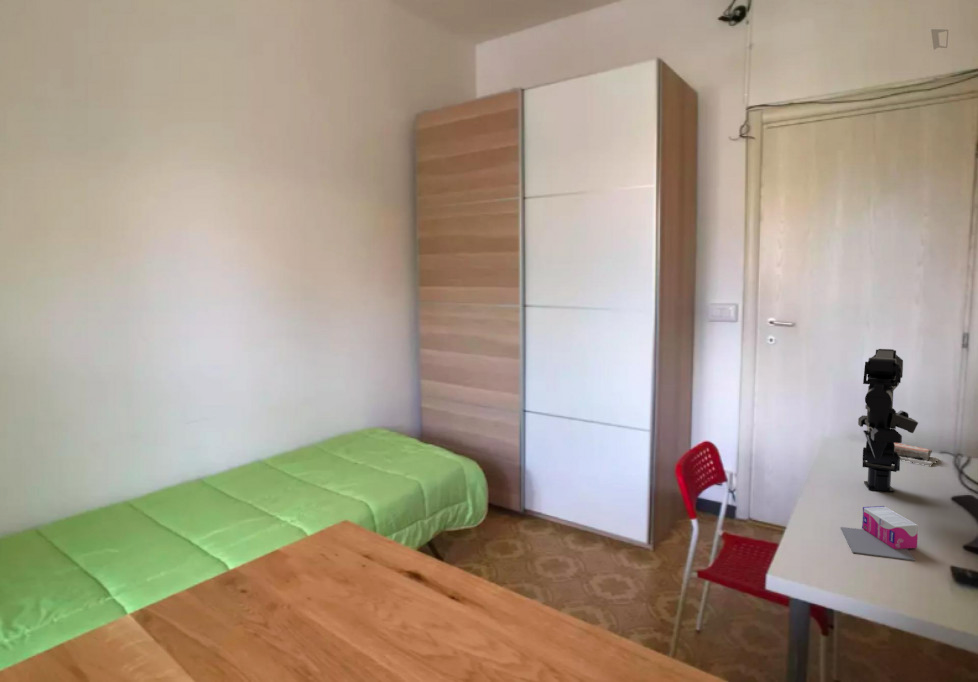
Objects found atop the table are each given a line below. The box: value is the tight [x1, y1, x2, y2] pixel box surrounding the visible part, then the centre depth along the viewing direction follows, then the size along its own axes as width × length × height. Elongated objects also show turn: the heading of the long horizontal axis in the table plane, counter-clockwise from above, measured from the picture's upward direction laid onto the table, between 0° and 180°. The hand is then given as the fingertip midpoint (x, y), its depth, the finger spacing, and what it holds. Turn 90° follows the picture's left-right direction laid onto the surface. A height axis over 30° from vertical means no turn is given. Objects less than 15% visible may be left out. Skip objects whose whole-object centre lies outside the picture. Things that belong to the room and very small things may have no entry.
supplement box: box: [861, 505, 919, 549], centre depth 139 cm, size 6×6×12 cm
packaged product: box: [894, 443, 940, 467], centre depth 199 cm, size 18×5×10 cm
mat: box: [840, 526, 916, 562], centre depth 138 cm, size 14×12×1 cm
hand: (877, 458), depth 159 cm, fingers closed
